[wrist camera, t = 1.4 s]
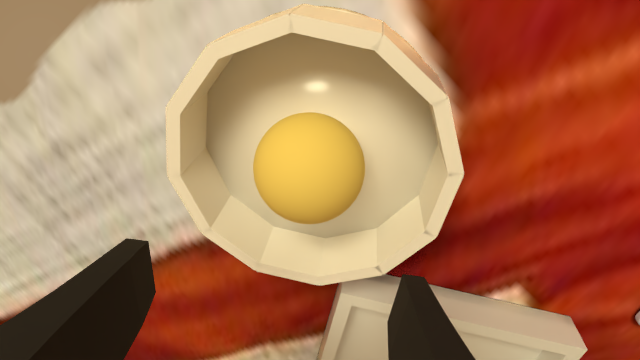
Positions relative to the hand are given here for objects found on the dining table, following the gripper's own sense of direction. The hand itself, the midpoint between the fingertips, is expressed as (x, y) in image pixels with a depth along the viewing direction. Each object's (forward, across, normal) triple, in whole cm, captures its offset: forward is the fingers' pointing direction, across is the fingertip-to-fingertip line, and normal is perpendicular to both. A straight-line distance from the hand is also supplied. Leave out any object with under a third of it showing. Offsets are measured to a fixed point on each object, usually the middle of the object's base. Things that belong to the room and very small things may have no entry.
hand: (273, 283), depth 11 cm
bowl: (+10, -1, 0) cm, 10 cm away
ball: (+9, -1, 0) cm, 9 cm away
